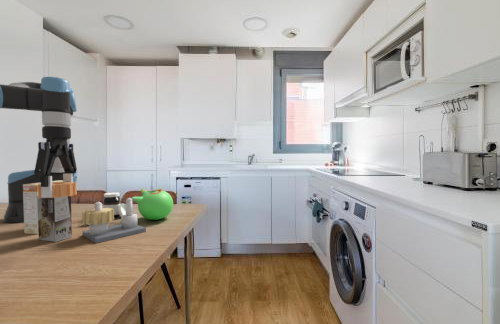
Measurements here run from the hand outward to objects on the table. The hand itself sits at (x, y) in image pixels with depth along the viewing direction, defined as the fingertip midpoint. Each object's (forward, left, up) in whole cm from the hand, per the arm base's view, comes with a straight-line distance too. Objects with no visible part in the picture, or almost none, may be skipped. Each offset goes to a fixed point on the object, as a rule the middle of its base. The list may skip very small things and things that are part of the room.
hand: (58, 194), depth 85 cm
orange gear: (0, 0, 0) cm, 0 cm away
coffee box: (-13, +2, -18) cm, 22 cm away
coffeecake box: (-31, +4, -18) cm, 36 cm away
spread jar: (-31, +31, -18) cm, 47 cm away
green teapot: (-12, +41, -18) cm, 46 cm away
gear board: (-3, +19, -18) cm, 26 cm away
